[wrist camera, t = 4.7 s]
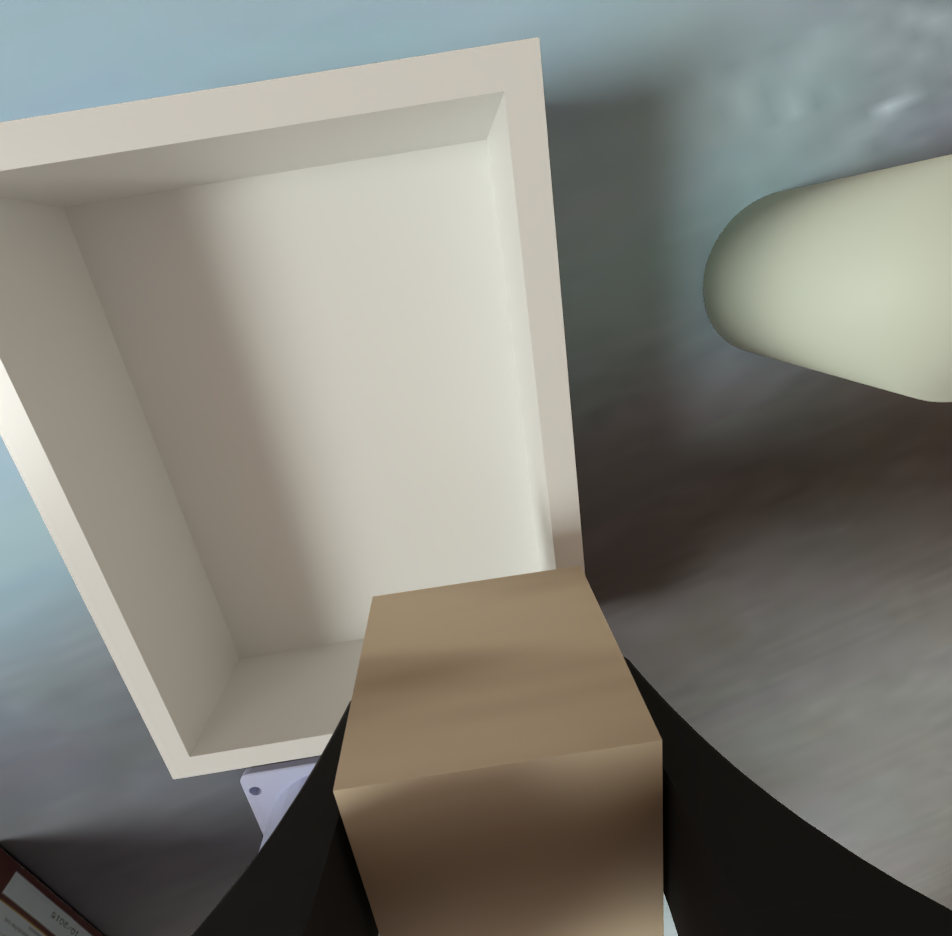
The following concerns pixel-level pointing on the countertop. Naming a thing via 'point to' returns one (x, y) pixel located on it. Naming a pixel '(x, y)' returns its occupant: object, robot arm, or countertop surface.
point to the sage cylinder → (845, 278)
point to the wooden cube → (502, 765)
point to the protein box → (34, 906)
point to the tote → (286, 374)
